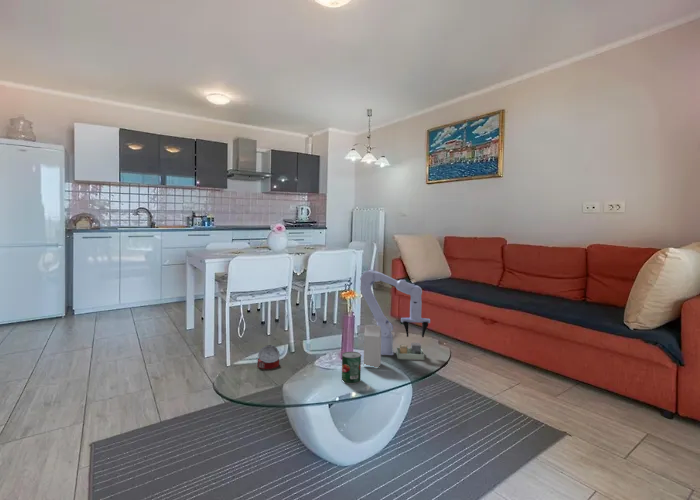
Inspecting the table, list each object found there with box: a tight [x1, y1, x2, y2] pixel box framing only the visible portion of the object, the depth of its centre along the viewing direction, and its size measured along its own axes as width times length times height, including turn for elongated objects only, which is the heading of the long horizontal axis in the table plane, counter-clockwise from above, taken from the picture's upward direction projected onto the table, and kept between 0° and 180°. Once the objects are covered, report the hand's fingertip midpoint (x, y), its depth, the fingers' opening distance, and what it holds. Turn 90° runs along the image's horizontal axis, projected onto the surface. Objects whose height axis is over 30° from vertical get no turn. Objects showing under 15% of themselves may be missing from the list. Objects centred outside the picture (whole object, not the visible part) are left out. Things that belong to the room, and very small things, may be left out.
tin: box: [410, 342, 422, 354], centre depth 184 cm, size 5×5×6 cm
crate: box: [395, 347, 426, 361], centre depth 184 cm, size 13×10×3 cm
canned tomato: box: [341, 351, 362, 385], centre depth 153 cm, size 8×8×11 cm
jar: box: [399, 344, 409, 354], centre depth 184 cm, size 4×4×5 cm
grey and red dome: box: [257, 344, 281, 370], centre depth 170 cm, size 11×10×10 cm
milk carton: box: [363, 324, 382, 368], centre depth 170 cm, size 7×7×19 cm
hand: (415, 336), depth 186 cm, fingers open, 7 cm apart
